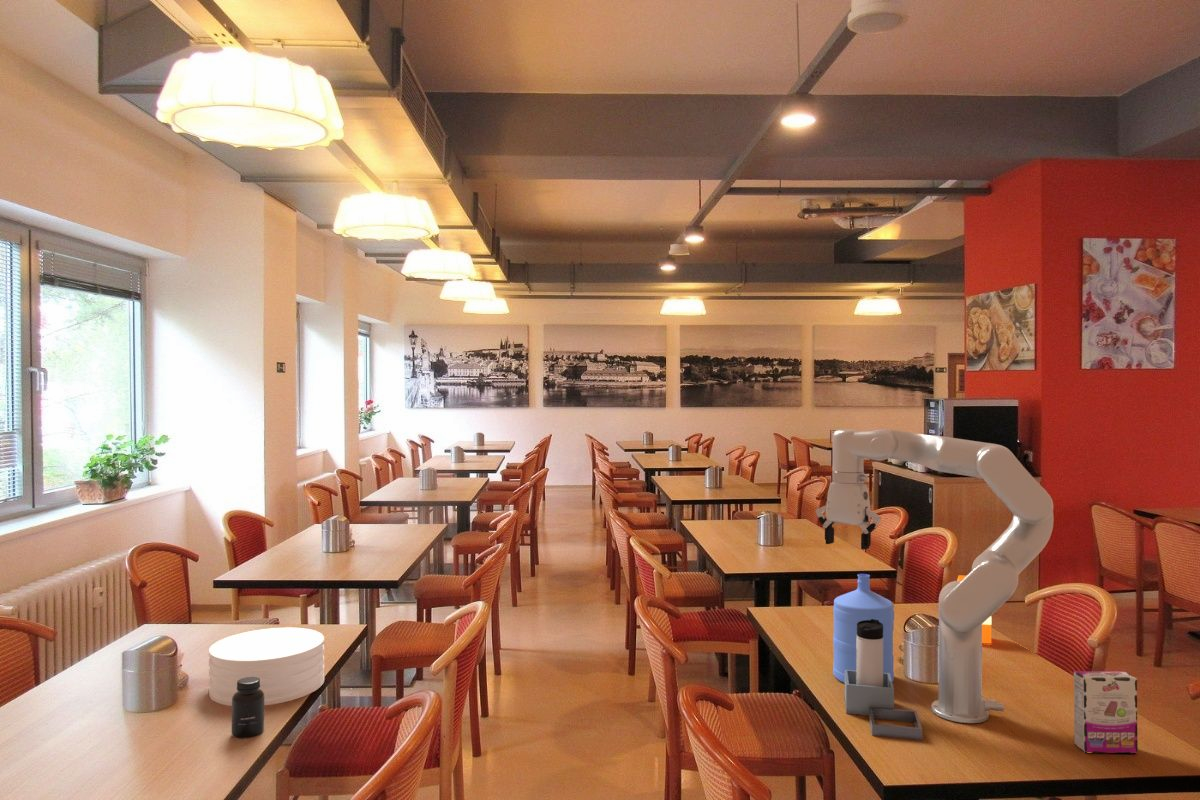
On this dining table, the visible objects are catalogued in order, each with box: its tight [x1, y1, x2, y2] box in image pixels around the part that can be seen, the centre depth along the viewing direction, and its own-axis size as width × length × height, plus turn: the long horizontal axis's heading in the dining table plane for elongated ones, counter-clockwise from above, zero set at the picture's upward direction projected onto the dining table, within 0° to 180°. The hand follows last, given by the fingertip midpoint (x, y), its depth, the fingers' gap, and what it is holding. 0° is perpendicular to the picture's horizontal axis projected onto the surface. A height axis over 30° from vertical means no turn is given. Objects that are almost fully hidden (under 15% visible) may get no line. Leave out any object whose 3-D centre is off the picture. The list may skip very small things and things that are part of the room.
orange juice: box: [956, 574, 993, 644], centre depth 253 cm, size 8×9×20 cm
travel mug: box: [856, 619, 883, 687], centre depth 199 cm, size 6×7×20 cm
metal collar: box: [868, 707, 923, 741], centre depth 187 cm, size 11×11×2 cm
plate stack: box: [208, 627, 325, 707], centre depth 214 cm, size 28×28×12 cm
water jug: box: [832, 573, 895, 684], centre depth 219 cm, size 16×16×28 cm
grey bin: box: [844, 670, 895, 717], centre depth 199 cm, size 11×11×7 cm
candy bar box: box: [1073, 670, 1139, 753], centre depth 176 cm, size 11×5×16 cm, turn 87°
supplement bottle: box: [231, 677, 265, 739], centre depth 184 cm, size 7×7×12 cm
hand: (847, 546), depth 205 cm, fingers open, 9 cm apart
